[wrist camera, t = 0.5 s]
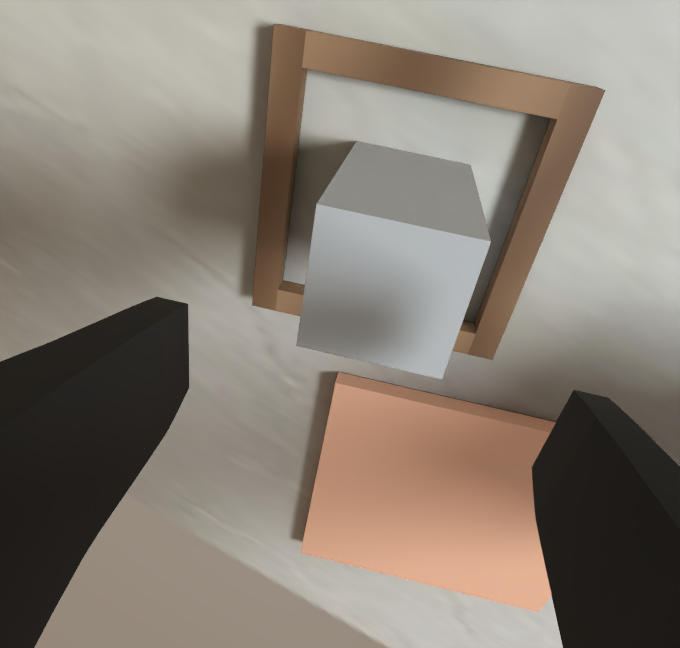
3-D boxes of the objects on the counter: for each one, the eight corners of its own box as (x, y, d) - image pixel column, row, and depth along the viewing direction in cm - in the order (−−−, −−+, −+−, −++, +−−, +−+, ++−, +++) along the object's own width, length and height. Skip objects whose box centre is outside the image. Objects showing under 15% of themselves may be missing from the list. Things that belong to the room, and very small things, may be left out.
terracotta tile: (647, 443, 22) (654, 457, 21) (536, 598, 29) (538, 612, 28) (338, 371, 22) (335, 382, 22) (303, 540, 29) (300, 552, 29)
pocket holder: (597, 87, 15) (605, 90, 14) (490, 348, 20) (492, 359, 20) (280, 24, 15) (273, 24, 15) (258, 296, 21) (252, 305, 20)
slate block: (470, 164, 17) (490, 241, 11) (439, 268, 19) (442, 379, 13) (356, 140, 17) (316, 203, 11) (338, 246, 19) (296, 345, 13)
